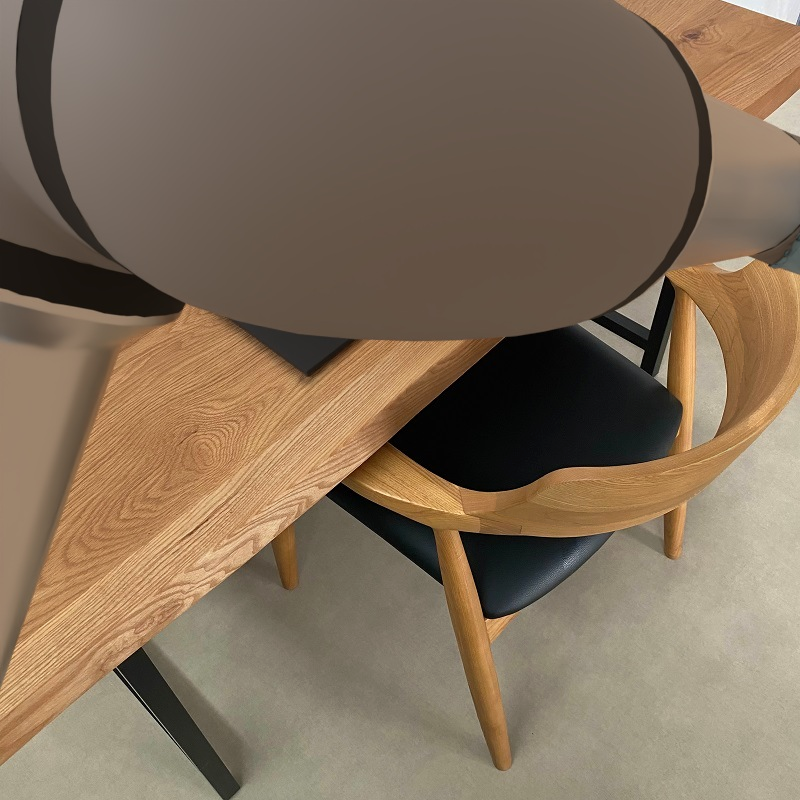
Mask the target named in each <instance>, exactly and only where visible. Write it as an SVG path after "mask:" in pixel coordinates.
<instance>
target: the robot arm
mask: <svg viewBox="0 0 800 800" xmlns="http://www.w3.org/2000/svg"><path fill="white" fill-rule="evenodd" d="M745 257H750V258H751V259H754V260H756V261H759V262H762V263H764V264H766V265H767V267H769V268H771V269H774V270H777V269H781V270H784V271H787V272H789V273H792V274H796V275H799V276H800V136H799V135H796V134H793V133H790V132H789V131H787V130H783V129H782V128H780V127H778V126H777V125H774V124H772V123H770V122H768V121H766V120H763V119H762V118H760V117H757V116H755V115H753V114H751V113H749V112H747V111H745V110H742V109H740V108H739V107H736V106H734V105H731V104H730V103H727V102H725V101H723V100H721V99H719V98H717V97H715V96H713V95H711V94H709V93H706V92H704V89H703V86H702V85H701V82H700V80H699V78H698V76H697V74H696V72H695V71H694V69H693V67H692V66H691V64H690V63H689V60H688V58H687V57H686V56H685V55H684V53H682V52H681V50H680V49H679V48H678V46H676V44H675V43H674V42H673V41H672V40H671V38H669V37H668V36H667V35H665V34H664V33H663V32H662V31H661V30H659V28H657V27H656V26H654V25H653V24H651V22H649V21H648V20H646V19H645V18H643V17H642V16H640V15H639V14H637V13H636V12H634V11H632V10H630V9H628V8H627V7H625V6H623V4H620V2H618V1H616V0H0V690H1V689H2V687H3V684H4V681H5V678H6V675H7V673H8V669H9V666H10V664H11V661H12V658H13V655H14V653H15V649H16V646H17V644H18V641H19V638H20V635H21V632H22V630H23V627H24V625H25V621H26V618H27V615H28V613H29V610H30V607H31V604H32V601H33V599H34V596H35V593H36V591H37V587H38V585H39V582H40V578H41V576H42V573H43V570H44V568H45V565H46V561H47V559H48V557H49V553H50V550H51V547H52V544H53V542H54V539H55V536H56V534H57V530H58V529H59V525H60V523H61V520H62V516H63V515H64V511H65V508H66V505H67V502H68V499H69V496H70V495H71V494H70V493H71V491H72V488H73V485H74V482H75V480H76V477H77V474H78V471H79V468H80V467H81V466H80V465H81V462H82V460H83V458H84V455H85V452H86V448H87V446H88V443H89V440H90V437H91V435H92V431H93V429H94V426H95V424H96V420H97V417H98V414H99V412H100V408H101V406H102V403H103V400H104V398H105V394H106V392H107V390H108V386H109V383H110V381H111V378H112V376H113V372H114V369H115V366H116V364H117V361H118V358H119V356H120V352H121V349H122V347H123V346H124V345H125V344H127V343H128V342H129V341H132V340H134V339H135V338H138V337H141V336H143V335H146V334H147V333H149V332H152V331H154V330H157V329H160V328H162V327H164V326H167V325H169V324H171V323H173V322H176V321H177V320H179V319H180V317H181V315H182V313H183V311H184V308H185V306H186V305H188V306H189V307H194V308H196V309H200V310H203V311H205V312H209V313H211V314H215V315H218V316H221V317H224V318H227V319H229V318H230V319H233V320H236V321H240V322H245V323H249V324H253V325H258V326H263V327H268V328H272V329H277V330H282V331H287V332H292V333H296V334H304V335H315V336H326V337H337V338H348V339H356V340H366V341H367V340H368V341H387V342H388V341H390V342H391V341H395V342H450V341H471V340H483V339H496V338H497V339H498V338H507V337H518V336H524V335H525V336H526V335H530V334H537V333H543V332H547V331H552V330H557V329H561V328H566V327H571V326H576V325H578V324H581V323H584V322H586V321H590V320H594V319H598V318H601V317H603V316H606V315H608V314H611V313H613V312H616V311H617V310H619V309H621V308H624V307H626V306H627V305H629V304H631V303H632V302H633V301H635V300H637V299H638V298H641V296H643V295H644V294H646V293H647V292H648V291H649V290H650V289H652V287H654V286H655V285H657V283H658V282H660V281H661V280H662V279H663V278H664V277H665V275H667V273H668V272H673V271H679V270H685V269H689V268H694V267H699V266H705V265H707V264H708V265H709V264H715V263H719V262H724V261H729V260H730V261H731V260H735V259H741V258H745ZM230 319H229V320H230Z"/></svg>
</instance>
